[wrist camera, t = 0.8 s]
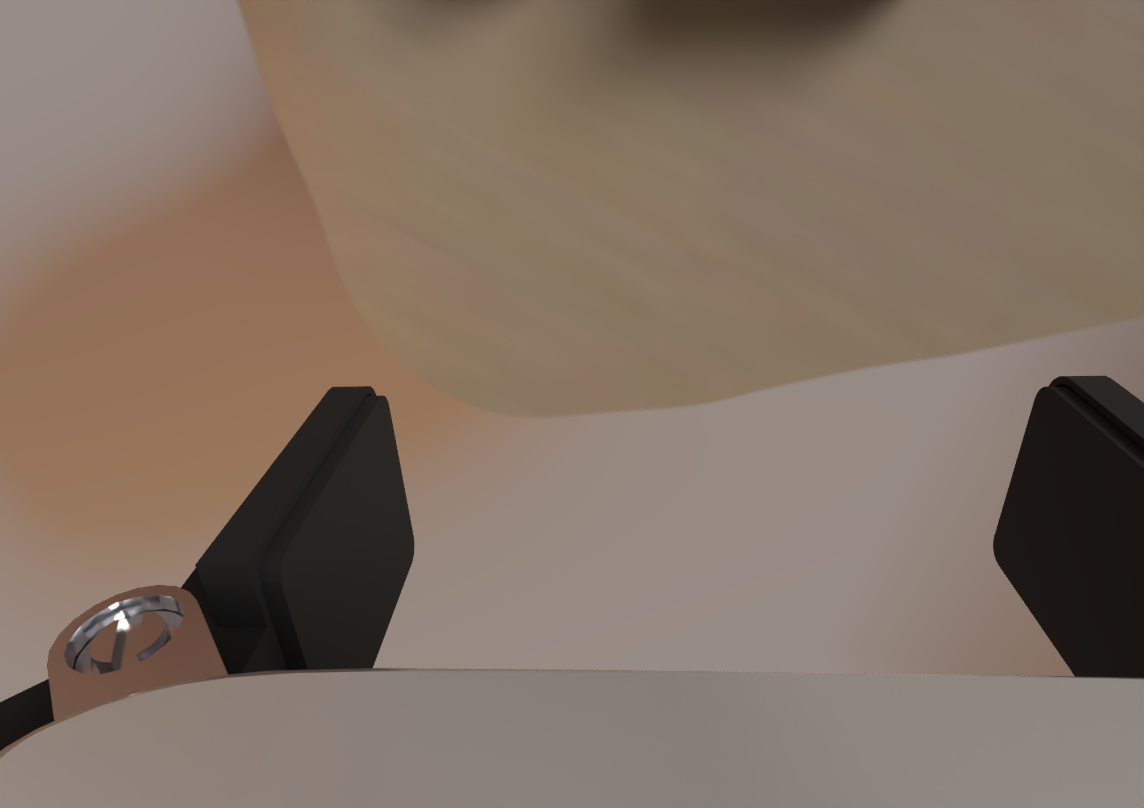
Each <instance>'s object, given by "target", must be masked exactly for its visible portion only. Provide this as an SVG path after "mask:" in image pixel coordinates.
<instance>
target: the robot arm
mask: <svg viewBox="0 0 1144 808" xmlns="http://www.w3.org/2000/svg"><path fill="white" fill-rule="evenodd" d="M993 549H994V555H995V558H996V561H997V563H998V564H999V566H1000V567H1001V569H1002V571H1003V572H1004V574H1005V575H1006V577H1007V578H1008V579H1009V581H1010V582H1011V584H1012V585H1013V587H1014V588H1015V590H1016V591H1017V593H1018V594H1019V595H1020V597H1021V598H1022V600H1023V601H1024V603H1025V604H1026V606H1027V607H1028V608H1029V610H1030V611H1031V613H1032V614H1033V616H1034V617H1035V619H1036V620H1037V622H1038V623H1039V625H1040V626H1041V627H1042V629H1043V630H1044V632H1045V633H1046V635H1047V636H1048V638H1049V639H1050V641H1051V642H1052V643H1053V645H1054V646H1055V648H1056V649H1057V651H1058V652H1059V654H1060V655H1061V657H1062V658H1063V659H1064V661H1065V662H1066V664H1067V665H1068V667H1069V668H1070V669H1071V671H1072V673H1073V674H1074V675H1075V677H1070V676H1008V675H1006V676H1004V675H936V674H934V675H933V674H932V675H931V674H868V673H787V672H707V671H705V672H704V671H633V670H631V671H630V670H537V669H536V670H535V669H529V670H528V669H524V670H523V669H415V668H414V669H413V668H412V669H411V668H409V669H408V668H373V666H374V663H375V660H376V658H377V655H378V652H379V650H380V647H381V644H382V641H383V639H384V636H385V633H386V630H387V628H388V625H389V623H390V620H391V617H392V615H393V612H394V609H395V607H396V604H397V601H398V599H399V596H400V593H401V590H402V588H403V585H404V582H405V580H406V577H407V575H408V572H409V569H410V567H411V564H412V561H413V556H414V536H413V531H412V526H411V520H410V515H409V510H408V504H407V499H406V493H405V488H404V483H403V477H402V473H401V467H400V462H399V456H398V451H397V445H396V440H395V435H394V430H393V424H392V419H391V413H390V408H389V404H388V401H387V399H386V397H385V396H376V393H375V391H374V389H373V388H372V387H370V386H369V387H368V386H366V387H332V388H331V389H329V390H328V392H327V393H326V394H325V396H324V397H323V398H322V400H321V401H320V402H319V404H318V405H317V406H316V407H315V409H314V410H313V411H312V413H311V414H310V415H309V417H308V418H307V419H306V421H305V422H304V423H303V425H302V426H301V427H300V429H299V430H298V431H297V432H296V434H295V435H294V436H293V438H292V439H291V440H290V442H289V443H288V444H287V446H286V447H285V448H284V450H283V451H282V452H281V453H280V455H279V456H278V457H277V459H276V460H275V461H274V463H273V464H272V465H271V467H270V468H269V469H268V471H267V472H266V473H265V474H264V476H263V477H262V478H261V480H260V481H259V482H258V483H257V485H256V486H255V487H254V489H253V490H252V492H251V493H250V494H249V495H248V497H247V498H246V499H245V501H244V502H243V503H242V505H241V506H240V507H239V508H238V510H237V511H236V512H235V514H234V515H233V516H232V518H231V519H230V520H229V522H228V523H227V524H226V526H225V527H224V528H223V529H222V531H221V532H220V533H219V535H218V536H217V537H216V539H215V540H214V541H213V542H212V544H211V545H210V546H209V548H208V549H207V550H206V552H205V553H204V554H203V556H202V557H201V558H200V559H199V561H198V562H197V563H196V568H195V570H194V571H193V572H192V574H191V575H190V577H189V578H188V579H187V580H186V582H185V583H184V584H183V586H182V587H181V588H179V587H176V586H164V585H155V586H149V587H142V588H136V589H133V590H130V591H127V592H124V593H121V594H118V595H115V596H113V597H111V598H109V599H107V600H105V601H103V602H101V603H99V604H97V605H95V606H93V607H92V608H90V609H89V610H87V611H86V612H84V613H83V614H81V615H80V616H79V617H78V618H76V619H74V620H73V621H72V622H71V623H70V624H69V625H68V626H67V627H66V628H65V629H64V630H63V631H62V632H61V633H60V634H59V636H58V637H57V639H56V641H55V642H54V644H53V646H52V647H51V649H50V651H49V657H48V663H47V669H48V676H49V679H47V680H45V681H43V682H41V683H39V684H37V685H35V686H33V687H31V688H29V689H27V690H25V691H23V692H21V693H19V694H17V695H14V696H12V697H10V698H8V699H6V700H4V701H2V702H0V808H1144V403H1143V402H1142V401H1141V400H1139V399H1138V398H1137V397H1135V396H1134V395H1132V394H1131V393H1130V392H1128V391H1127V390H1126V389H1124V388H1123V387H1122V386H1120V385H1119V384H1118V383H1116V382H1115V381H1114V380H1112V379H1111V378H1108V377H1107V376H1062V377H1061V376H1060V377H1058V378H1056V379H1054V380H1053V381H1052V382H1051V384H1050V385H1049V387H1043V388H1041V389H1040V390H1039V392H1038V393H1037V395H1036V398H1035V400H1034V403H1033V407H1032V411H1031V414H1030V417H1029V420H1028V424H1027V427H1026V431H1025V434H1024V437H1023V441H1022V444H1021V448H1020V451H1019V454H1018V458H1017V461H1016V465H1015V468H1014V471H1013V475H1012V478H1011V482H1010V485H1009V488H1008V492H1007V495H1006V499H1005V502H1004V505H1003V509H1002V512H1001V516H1000V519H999V522H998V526H997V529H996V533H995V536H994V541H993Z"/></svg>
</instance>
